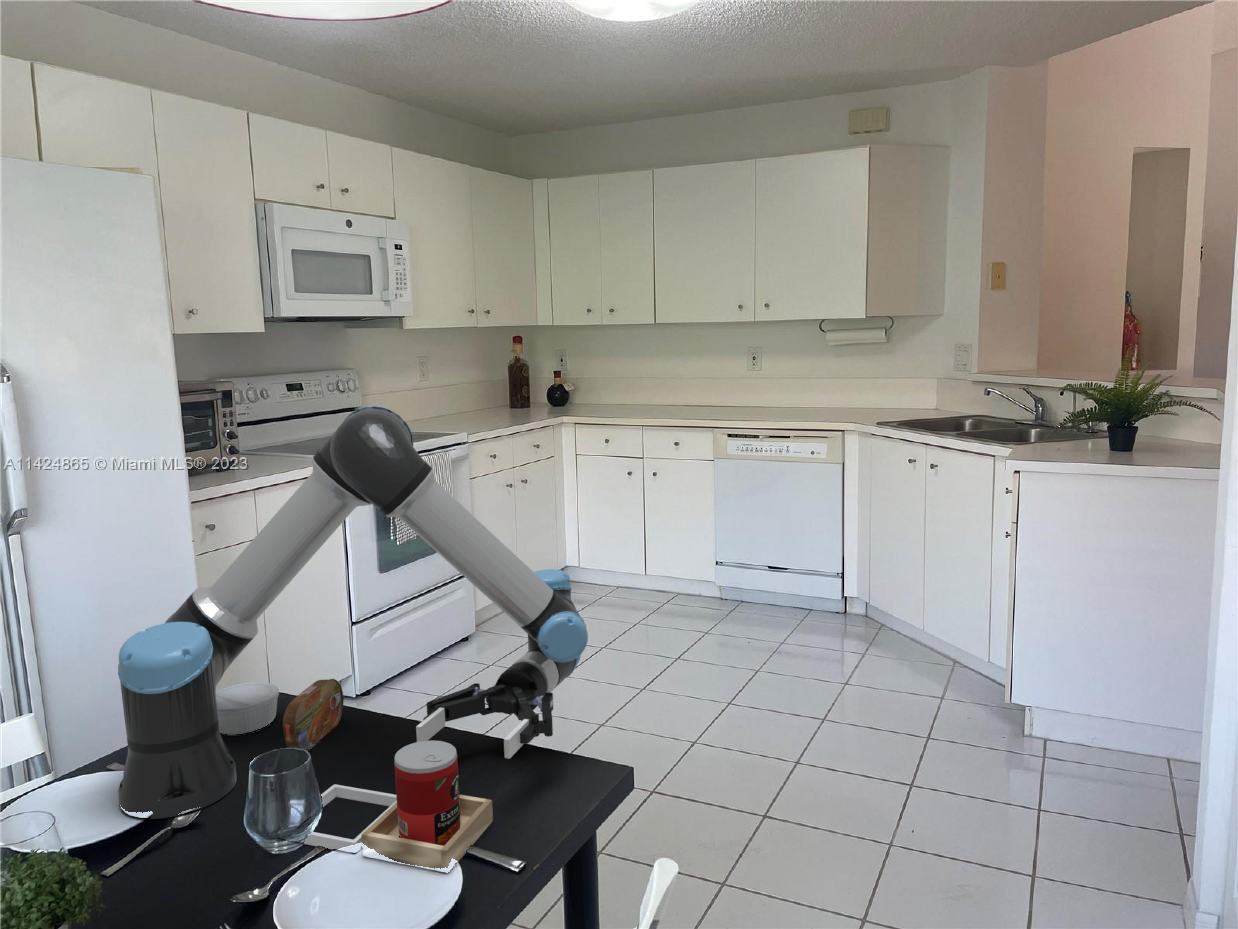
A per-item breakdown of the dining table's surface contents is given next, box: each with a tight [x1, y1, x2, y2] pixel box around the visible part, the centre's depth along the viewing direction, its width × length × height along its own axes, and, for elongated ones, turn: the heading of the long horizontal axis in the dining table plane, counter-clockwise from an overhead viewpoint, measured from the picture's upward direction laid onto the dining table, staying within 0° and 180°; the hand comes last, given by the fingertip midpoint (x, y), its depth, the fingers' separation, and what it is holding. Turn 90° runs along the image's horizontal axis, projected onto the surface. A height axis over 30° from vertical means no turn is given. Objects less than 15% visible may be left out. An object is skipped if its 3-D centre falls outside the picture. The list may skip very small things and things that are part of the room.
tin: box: [282, 678, 344, 751], centre depth 141 cm, size 15×3×8 cm, turn 170°
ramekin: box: [216, 681, 280, 736], centre depth 147 cm, size 11×11×5 cm
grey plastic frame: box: [303, 784, 397, 851], centre depth 116 cm, size 12×12×2 cm
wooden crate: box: [361, 794, 494, 869], centre depth 112 cm, size 12×12×3 cm
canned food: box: [393, 740, 461, 846], centre depth 112 cm, size 8×8×11 cm
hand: (461, 742), depth 120 cm, fingers open, 13 cm apart
